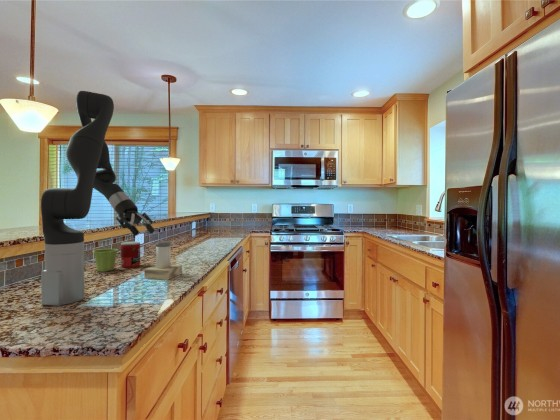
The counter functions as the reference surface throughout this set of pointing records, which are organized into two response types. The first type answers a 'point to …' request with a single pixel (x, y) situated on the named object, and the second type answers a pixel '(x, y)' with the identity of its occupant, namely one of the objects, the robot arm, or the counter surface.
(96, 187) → the robot arm
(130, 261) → the canned food
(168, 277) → the maple base
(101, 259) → the plant pot
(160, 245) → the spice jar
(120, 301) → the counter surface
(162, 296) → the counter surface
